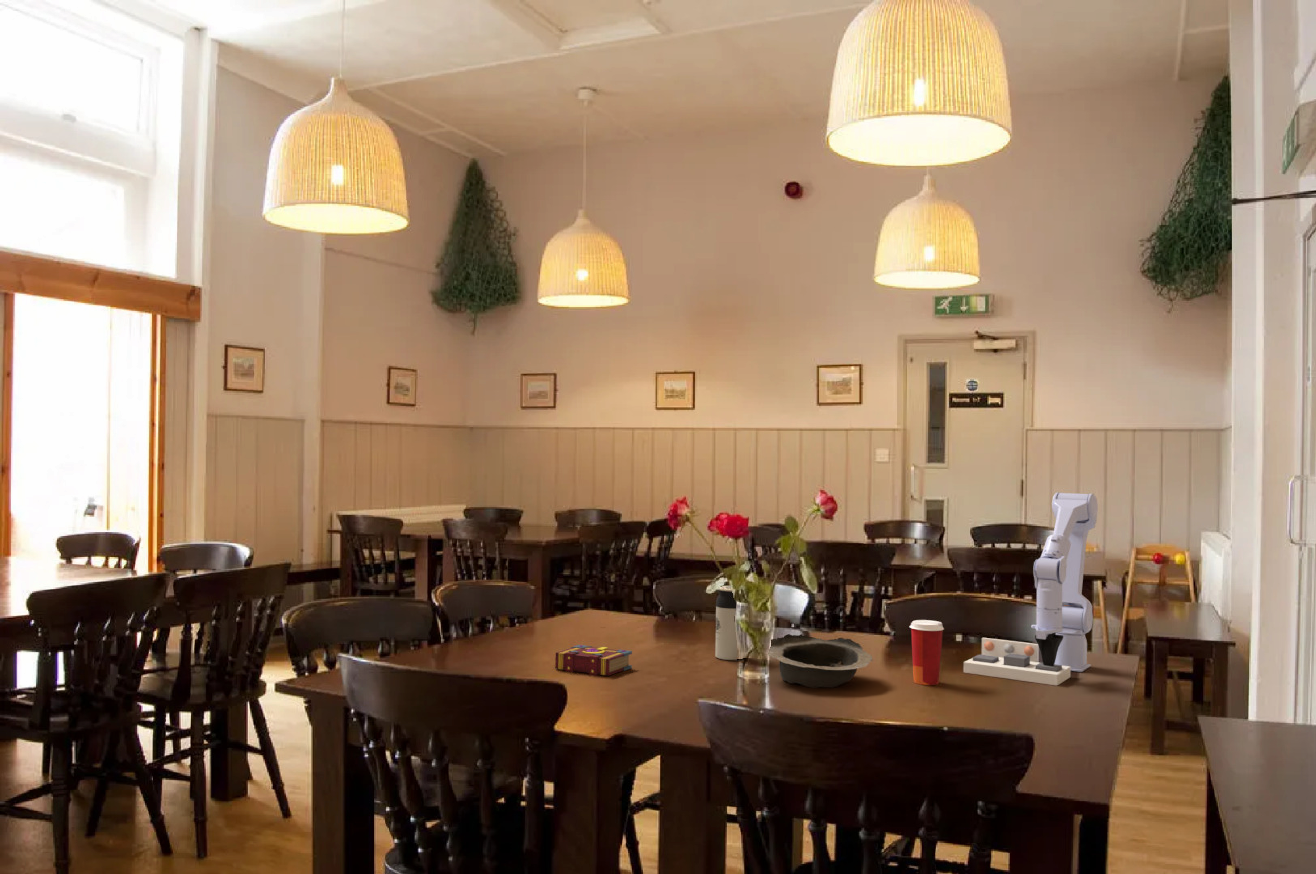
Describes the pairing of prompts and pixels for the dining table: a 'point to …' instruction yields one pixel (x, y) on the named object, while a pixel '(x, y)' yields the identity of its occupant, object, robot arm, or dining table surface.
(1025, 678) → the button board
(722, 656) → the travel mug
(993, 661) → the button mug side
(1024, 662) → the button middle
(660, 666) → the dining table surface
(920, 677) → the paper cup
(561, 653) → the decorative book
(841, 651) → the stone bowl
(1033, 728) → the dining table surface
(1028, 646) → the card
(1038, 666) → the button cup side
